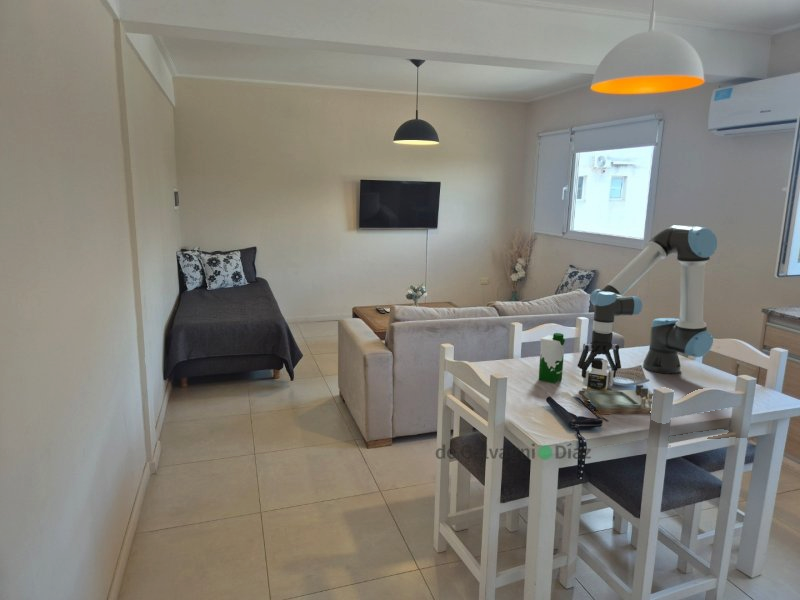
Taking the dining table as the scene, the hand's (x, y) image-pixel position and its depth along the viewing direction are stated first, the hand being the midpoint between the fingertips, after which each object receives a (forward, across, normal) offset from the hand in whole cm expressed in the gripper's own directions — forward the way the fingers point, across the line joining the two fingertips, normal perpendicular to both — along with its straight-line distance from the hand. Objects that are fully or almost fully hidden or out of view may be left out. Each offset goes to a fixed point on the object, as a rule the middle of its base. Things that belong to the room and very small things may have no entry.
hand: (597, 385), depth 217 cm
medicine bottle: (+1, 0, 0) cm, 1 cm away
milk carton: (+1, +16, -10) cm, 19 cm away
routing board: (+1, -4, +16) cm, 17 cm away
